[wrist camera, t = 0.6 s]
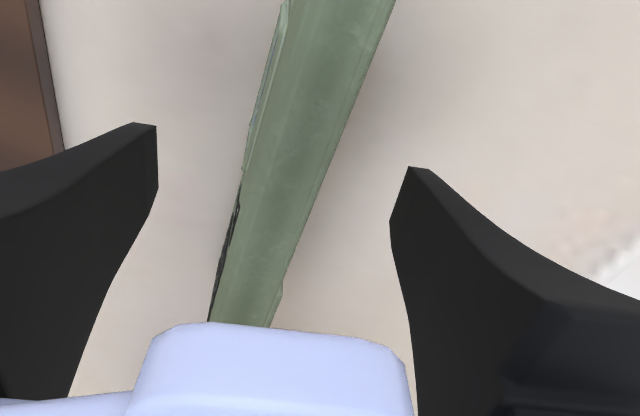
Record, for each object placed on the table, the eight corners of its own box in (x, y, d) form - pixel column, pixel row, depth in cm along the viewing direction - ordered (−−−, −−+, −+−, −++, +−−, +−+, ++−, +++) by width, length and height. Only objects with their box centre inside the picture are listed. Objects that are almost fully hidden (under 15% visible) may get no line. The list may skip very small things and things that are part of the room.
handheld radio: (210, 268, 26) (366, -324, 13) (262, 278, 27) (463, -269, 13) (189, 364, 21) (420, -480, 7) (255, 374, 22) (577, -374, 8)
